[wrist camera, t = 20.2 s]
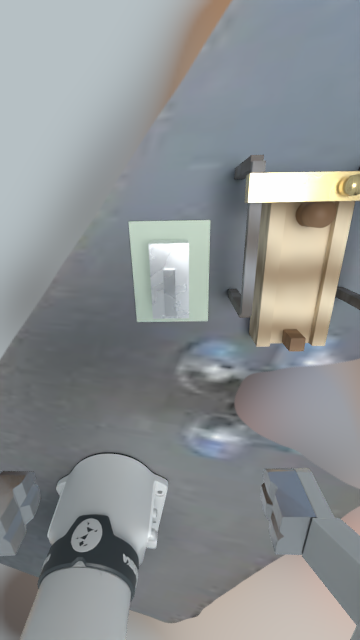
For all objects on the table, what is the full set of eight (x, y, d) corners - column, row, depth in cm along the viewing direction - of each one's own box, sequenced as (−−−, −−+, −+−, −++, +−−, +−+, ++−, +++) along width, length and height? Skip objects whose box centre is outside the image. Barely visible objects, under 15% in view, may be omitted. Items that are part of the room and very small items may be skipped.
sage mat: (207, 319, 34) (207, 320, 34) (137, 320, 34) (137, 322, 34) (209, 219, 30) (210, 220, 29) (129, 221, 30) (128, 221, 29)
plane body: (333, 331, 35) (372, 362, 28) (226, 333, 35) (237, 364, 28) (369, 165, 28) (435, 149, 21) (234, 168, 28) (253, 153, 21)
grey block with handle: (188, 306, 33) (189, 320, 29) (155, 306, 33) (152, 320, 29) (187, 239, 30) (188, 243, 26) (152, 239, 30) (147, 244, 26)
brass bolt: (429, 199, 22) (455, 198, 20) (244, 202, 22) (251, 202, 20) (438, 171, 21) (466, 167, 19) (246, 175, 21) (253, 171, 19)
